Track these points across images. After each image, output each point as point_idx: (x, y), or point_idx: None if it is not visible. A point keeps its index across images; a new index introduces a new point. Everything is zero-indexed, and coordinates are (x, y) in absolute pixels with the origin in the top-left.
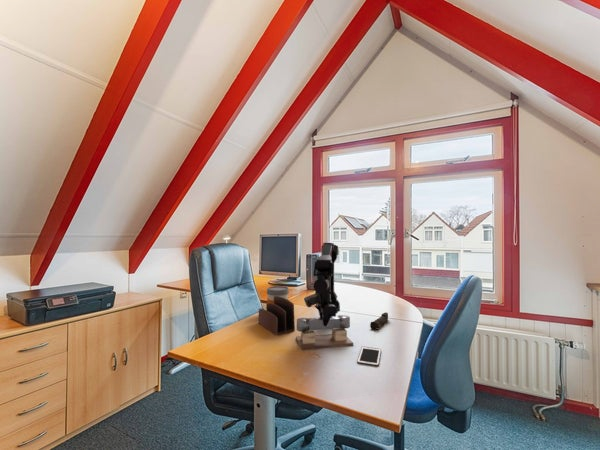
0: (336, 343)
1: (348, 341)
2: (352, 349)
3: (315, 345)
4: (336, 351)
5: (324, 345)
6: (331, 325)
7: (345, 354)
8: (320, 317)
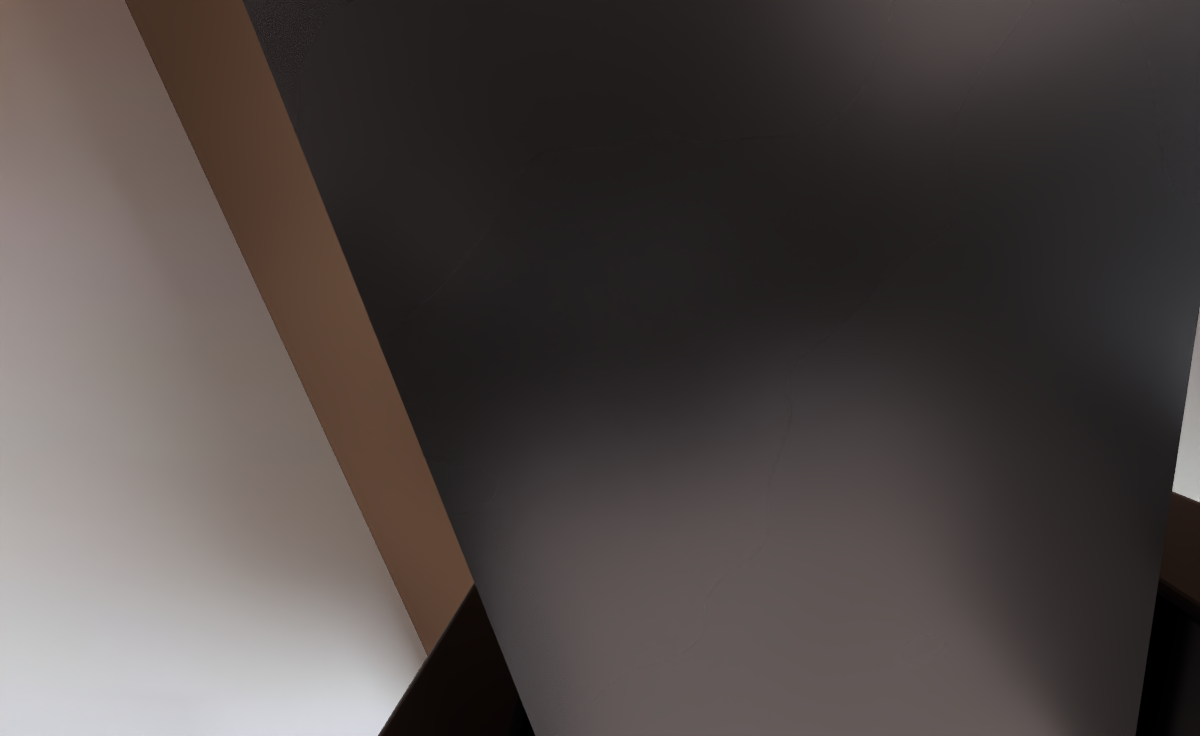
0: (419, 516)
1: None
2: (303, 706)
3: None
4: (133, 465)
5: (249, 250)
6: None
7: (37, 600)
8: (1124, 608)
